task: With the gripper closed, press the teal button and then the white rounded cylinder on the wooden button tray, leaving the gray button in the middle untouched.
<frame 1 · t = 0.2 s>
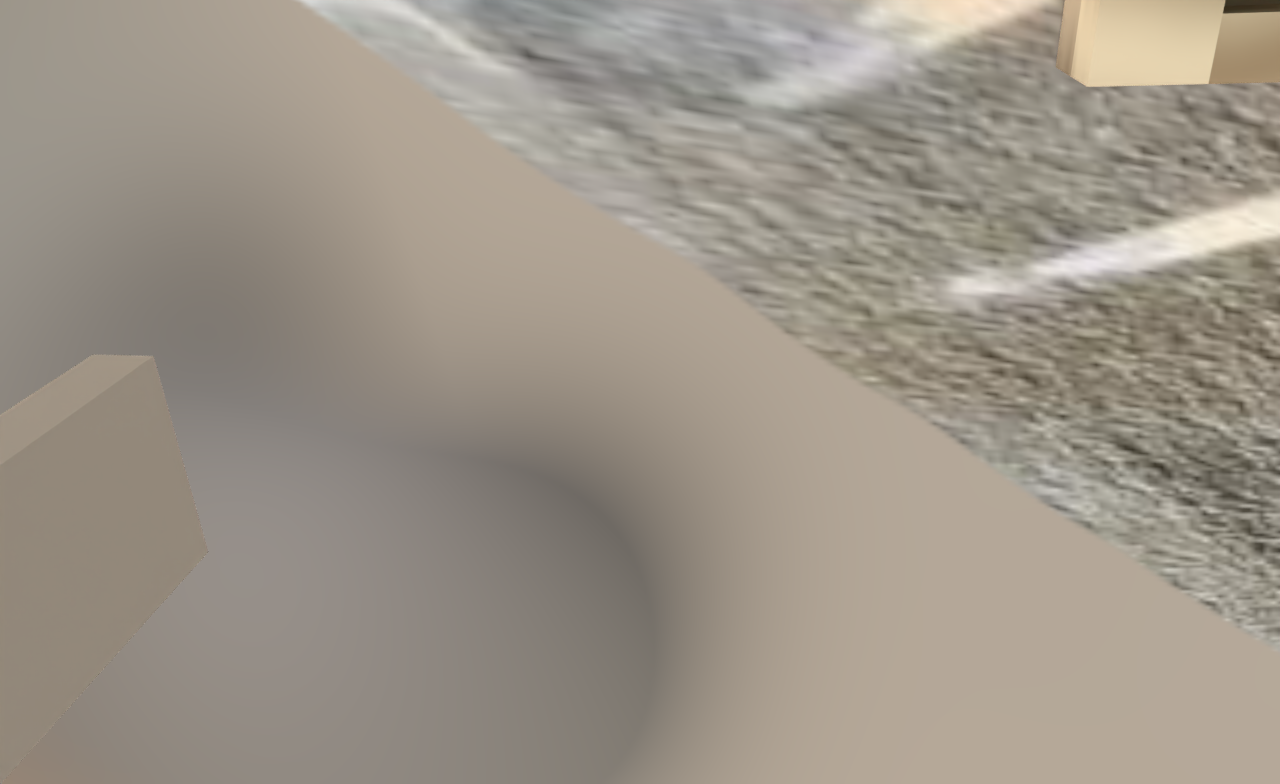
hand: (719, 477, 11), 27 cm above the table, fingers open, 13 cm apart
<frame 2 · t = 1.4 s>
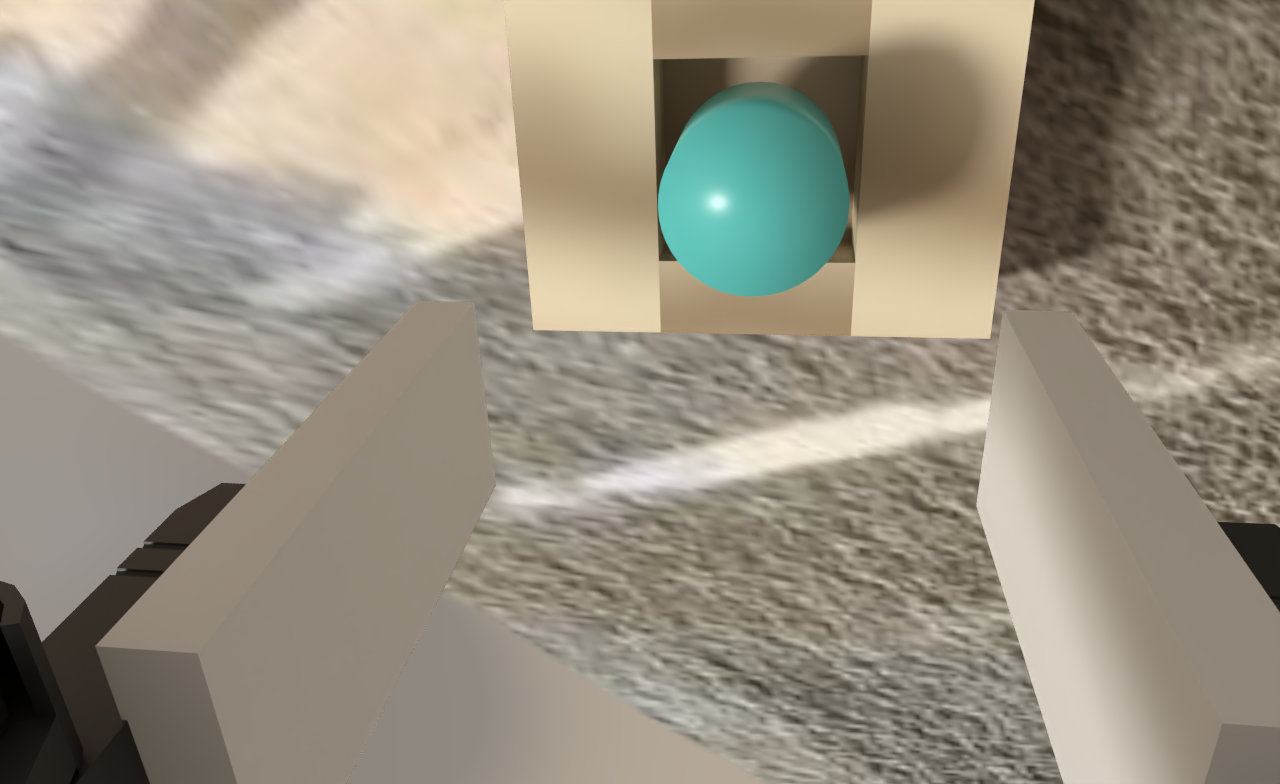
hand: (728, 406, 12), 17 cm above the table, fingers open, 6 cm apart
teal button: (754, 185, 22), point 6 cm above the table, slide at 0.0 cm
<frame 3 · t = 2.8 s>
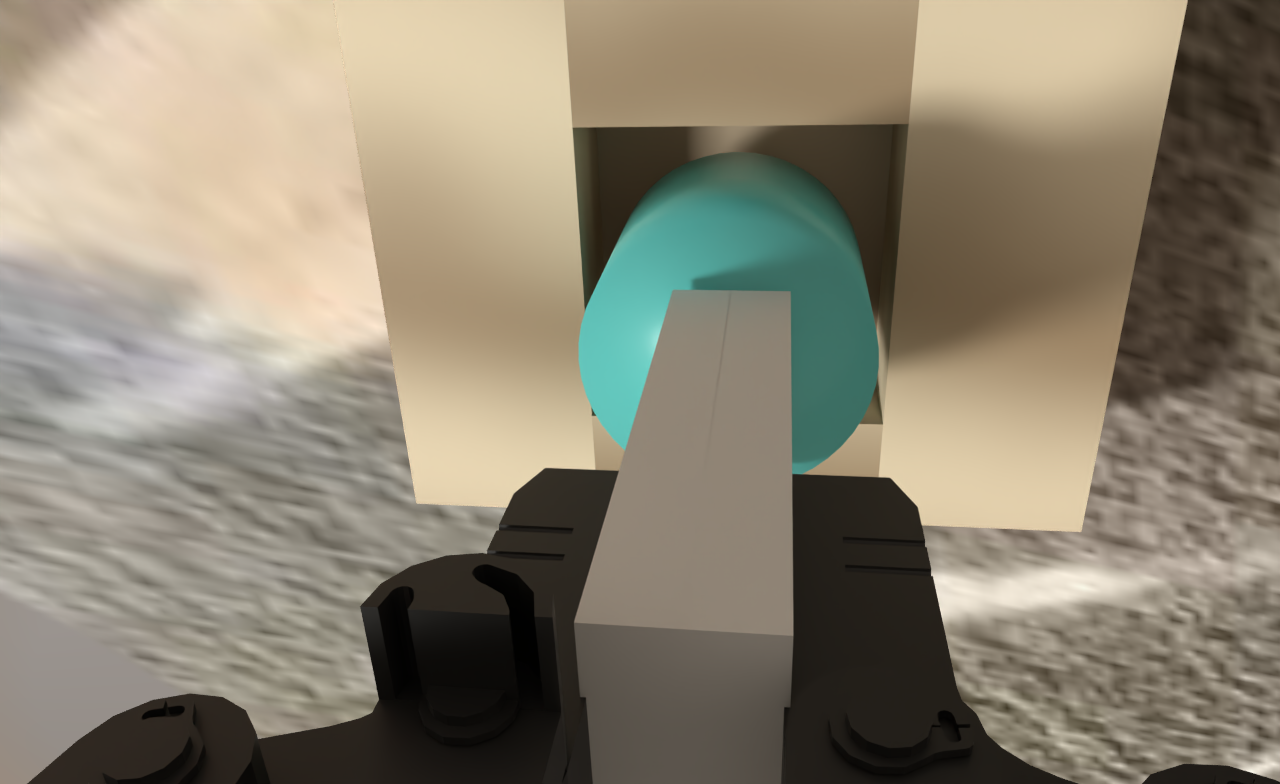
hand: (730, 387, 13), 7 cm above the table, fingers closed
teal button: (731, 313, 15), point 5 cm above the table, slide at 0.8 cm, touching gripper
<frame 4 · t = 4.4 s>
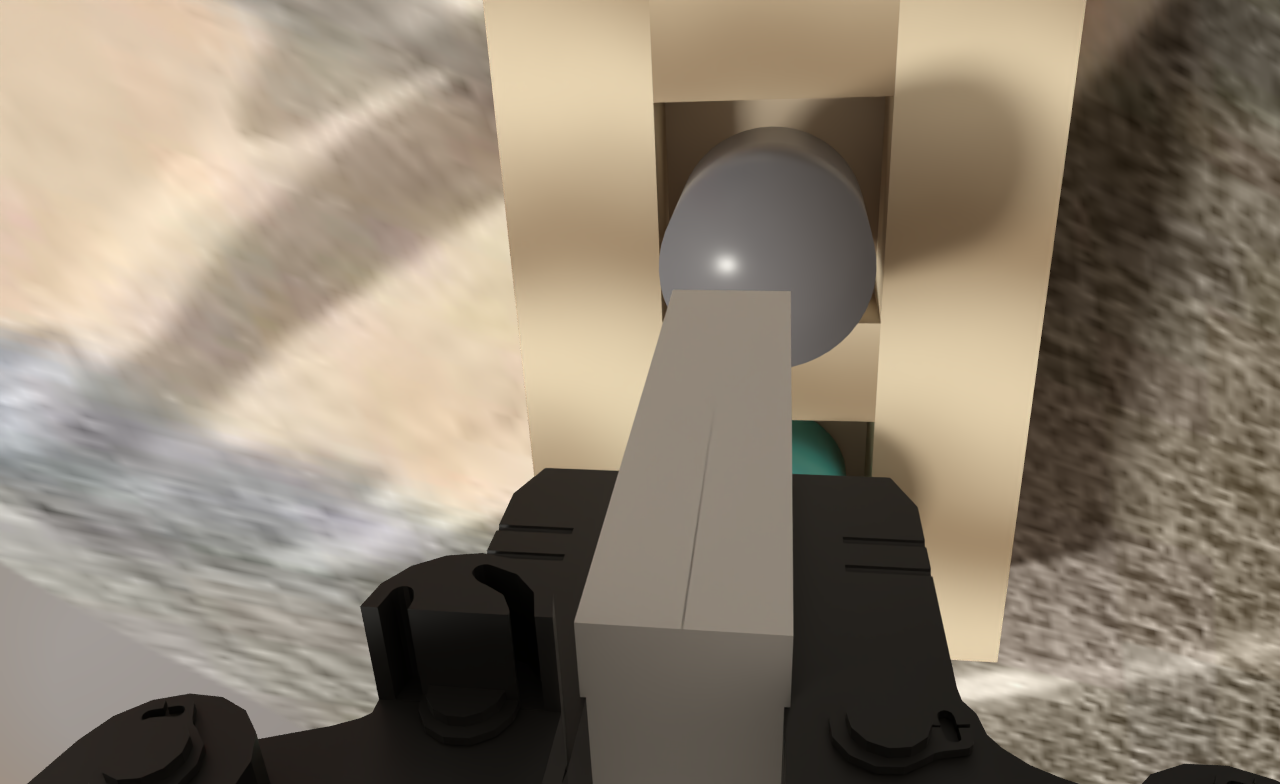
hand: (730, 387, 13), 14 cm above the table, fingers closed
wooden button tray: (774, 175, 25), on the table
gray button: (768, 243, 20), point 6 cm above the table, slide at 0.0 cm
teal button: (768, 510, 25), point 4 cm above the table, slide at 1.9 cm
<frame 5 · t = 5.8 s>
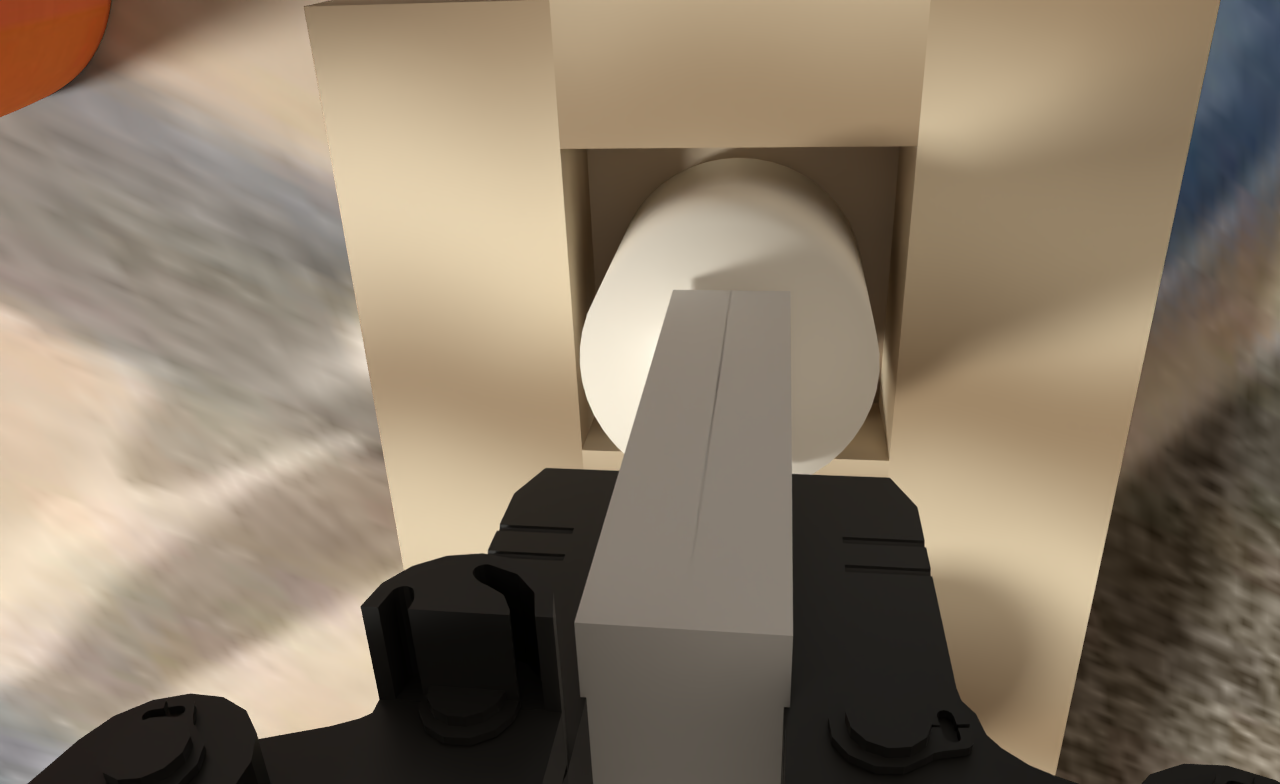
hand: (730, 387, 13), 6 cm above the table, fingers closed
wooden button tray: (739, 559, 22), on the table
white rounded cylinder: (732, 318, 15), point 4 cm above the table, slide at 1.8 cm, touching gripper
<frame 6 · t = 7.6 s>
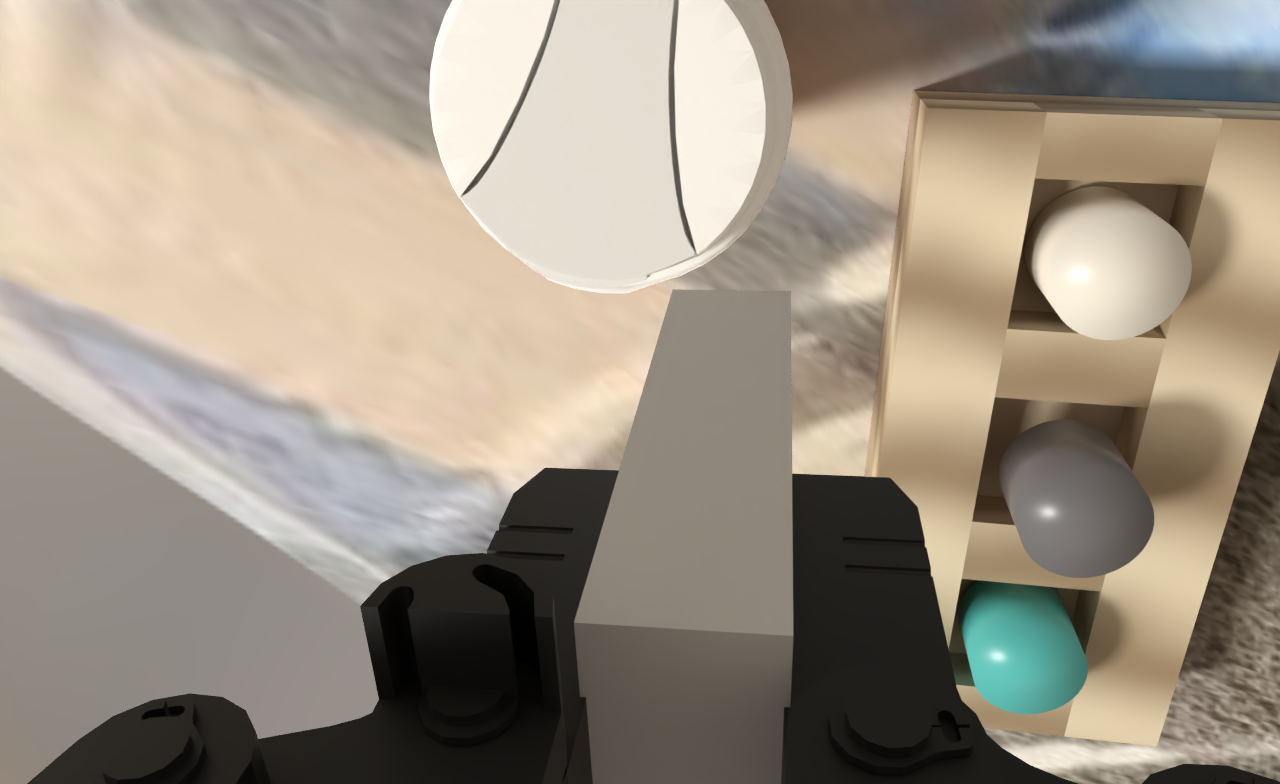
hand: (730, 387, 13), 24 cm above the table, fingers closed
wooden button tray: (1031, 417, 38), on the table
gray button: (1071, 496, 32), point 6 cm above the table, slide at 0.0 cm
coffee cup: (673, 53, 34), on the table
teal button: (1019, 640, 37), point 4 cm above the table, slide at 1.9 cm
white rounded cylinder: (1102, 261, 31), point 4 cm above the table, slide at 1.9 cm
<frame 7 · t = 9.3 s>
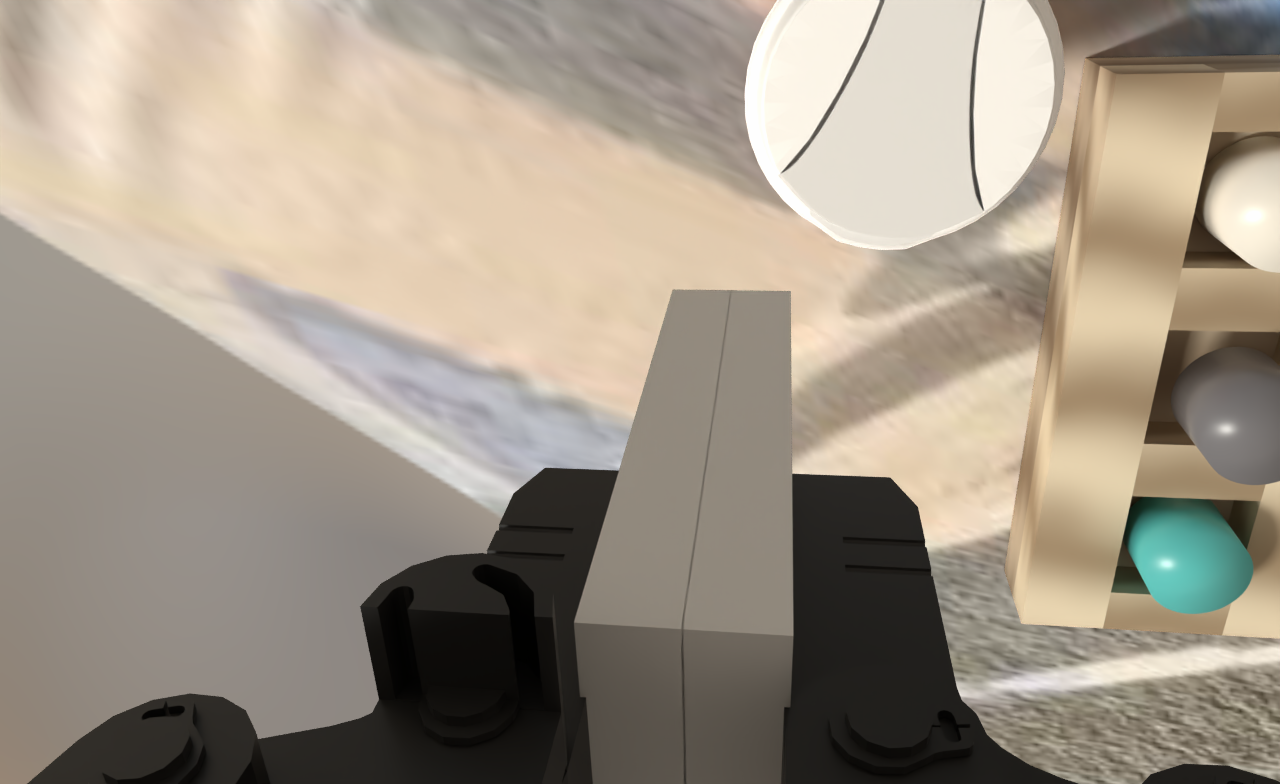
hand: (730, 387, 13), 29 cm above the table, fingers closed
wooden button tray: (1186, 349, 42), on the table
gray button: (1245, 414, 36), point 6 cm above the table, slide at 0.0 cm
coffee cup: (863, 36, 38), on the table
teal button: (1184, 549, 42), point 4 cm above the table, slide at 1.9 cm
white rounded cylinder: (1272, 203, 35), point 4 cm above the table, slide at 1.9 cm
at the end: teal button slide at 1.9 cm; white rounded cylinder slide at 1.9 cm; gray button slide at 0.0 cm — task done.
